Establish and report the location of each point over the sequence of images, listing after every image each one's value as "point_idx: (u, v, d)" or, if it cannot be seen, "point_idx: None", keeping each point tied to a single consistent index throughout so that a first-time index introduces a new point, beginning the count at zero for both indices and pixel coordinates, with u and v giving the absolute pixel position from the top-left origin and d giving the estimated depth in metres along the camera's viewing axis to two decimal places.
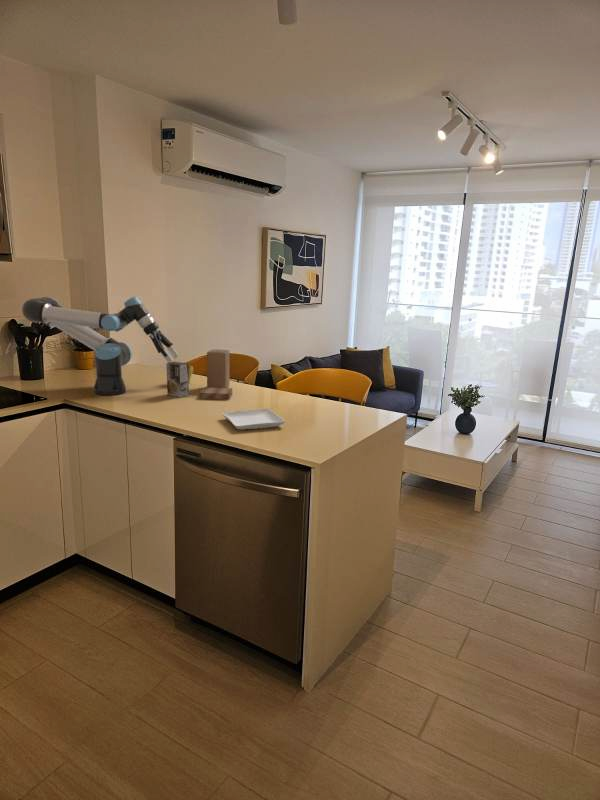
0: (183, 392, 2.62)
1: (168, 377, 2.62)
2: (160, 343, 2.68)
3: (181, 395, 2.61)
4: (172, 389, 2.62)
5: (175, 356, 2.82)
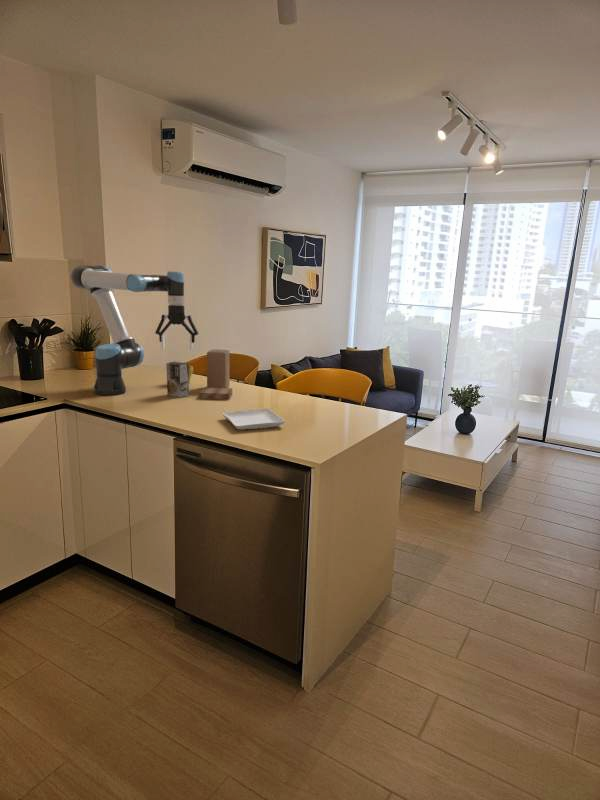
0: (183, 392, 2.62)
1: (168, 377, 2.62)
2: None
3: (181, 395, 2.61)
4: (172, 389, 2.62)
5: None
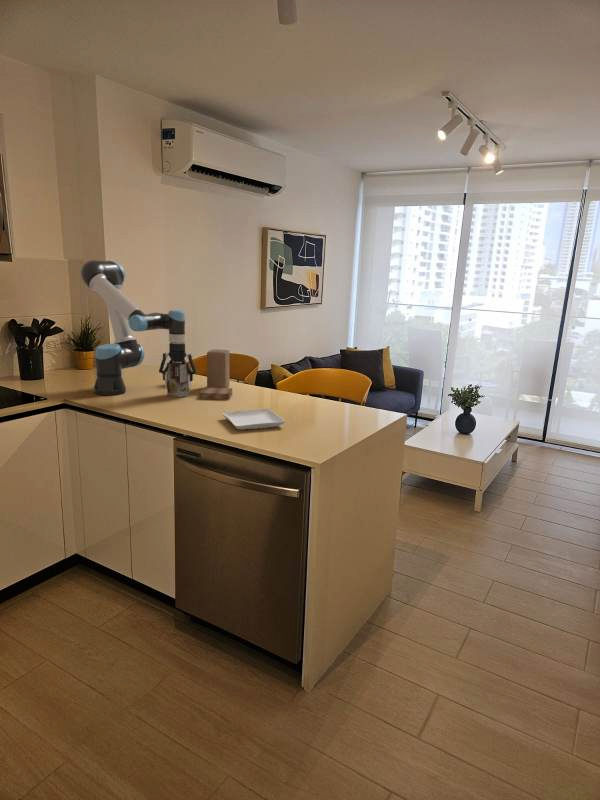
0: (184, 392, 2.62)
1: (168, 377, 2.62)
2: (166, 366, 2.61)
3: (181, 395, 2.61)
4: (172, 389, 2.62)
5: None
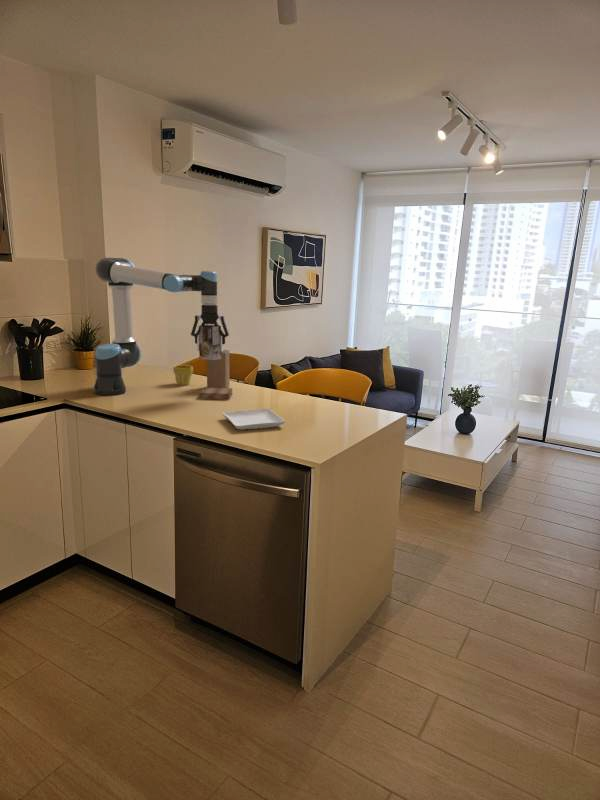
0: (216, 355, 2.58)
1: (200, 340, 2.58)
2: (198, 329, 2.57)
3: (214, 358, 2.56)
4: (205, 352, 2.58)
5: (221, 349, 2.60)
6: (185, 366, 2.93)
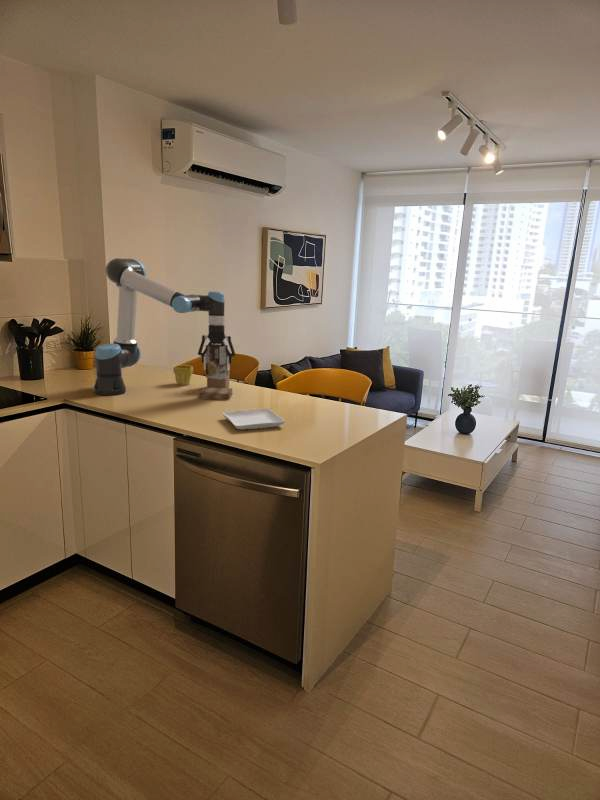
0: (223, 374, 2.60)
1: (207, 359, 2.60)
2: (205, 348, 2.59)
3: (220, 377, 2.59)
4: (211, 371, 2.60)
5: None
6: (185, 366, 2.93)
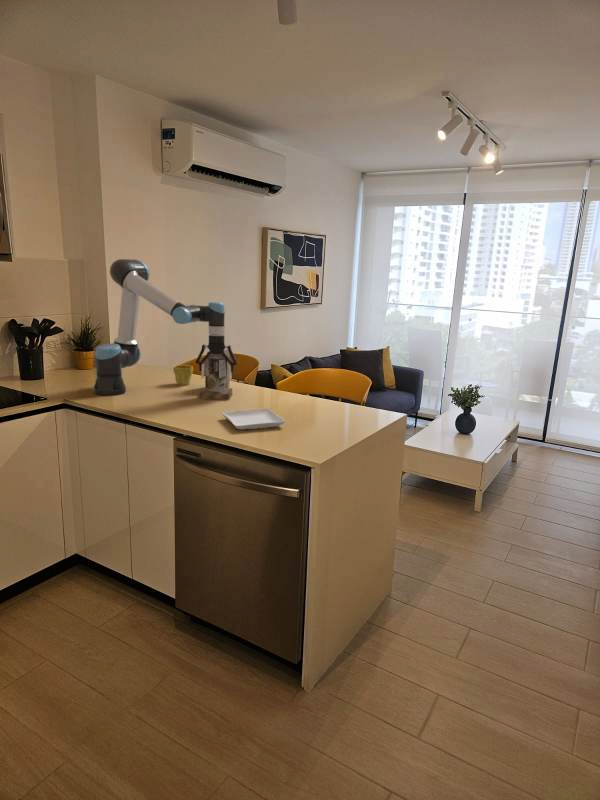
0: (222, 387, 2.62)
1: (206, 372, 2.62)
2: (204, 357, 2.60)
3: (220, 390, 2.60)
4: (211, 384, 2.62)
5: None
6: (185, 366, 2.93)
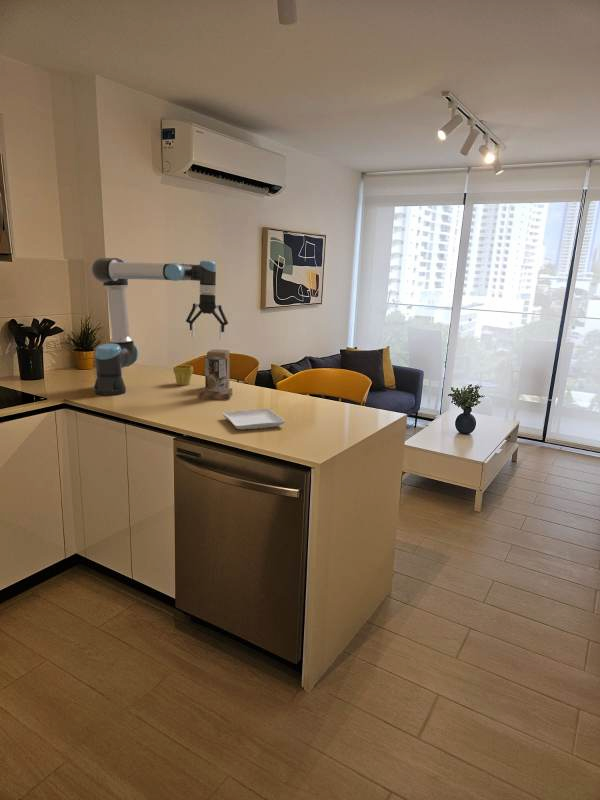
0: (222, 387, 2.62)
1: (206, 372, 2.62)
2: None
3: (220, 390, 2.60)
4: (211, 384, 2.62)
5: (220, 337, 2.64)
6: (185, 366, 2.93)
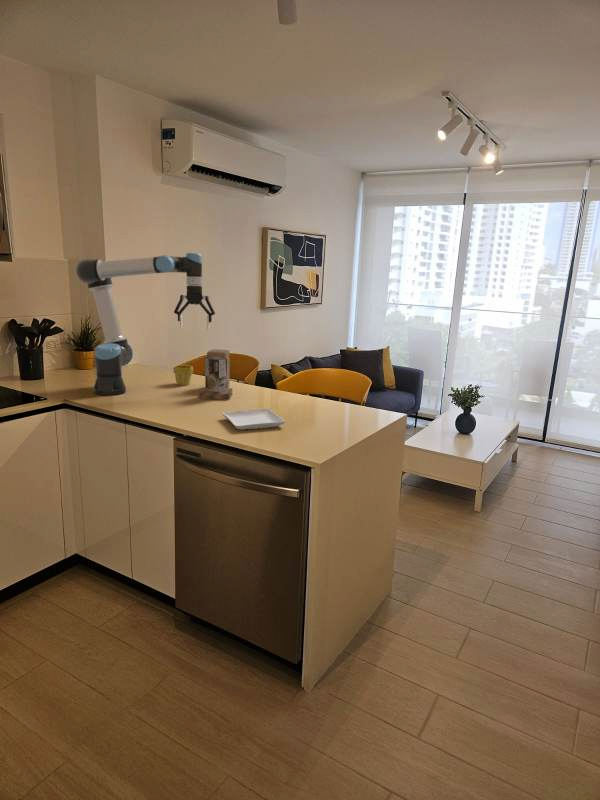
0: (222, 387, 2.62)
1: (206, 372, 2.62)
2: (182, 307, 2.67)
3: (220, 390, 2.60)
4: (211, 384, 2.62)
5: None
6: (185, 366, 2.93)
